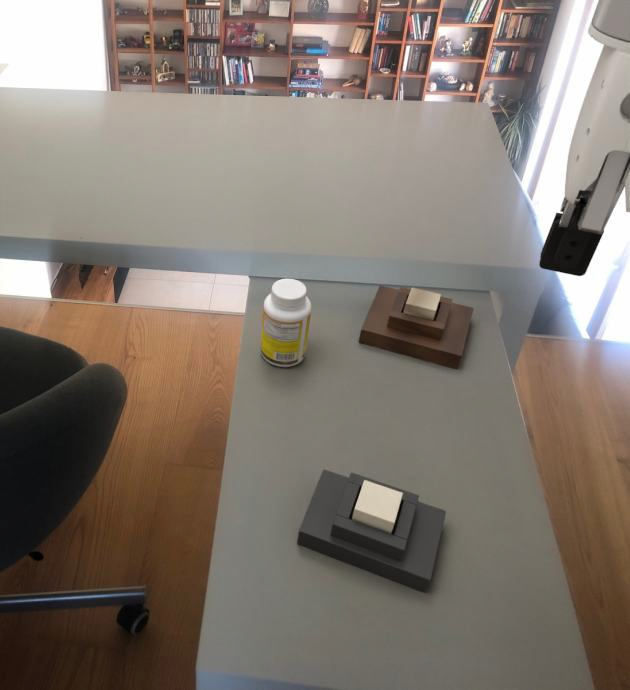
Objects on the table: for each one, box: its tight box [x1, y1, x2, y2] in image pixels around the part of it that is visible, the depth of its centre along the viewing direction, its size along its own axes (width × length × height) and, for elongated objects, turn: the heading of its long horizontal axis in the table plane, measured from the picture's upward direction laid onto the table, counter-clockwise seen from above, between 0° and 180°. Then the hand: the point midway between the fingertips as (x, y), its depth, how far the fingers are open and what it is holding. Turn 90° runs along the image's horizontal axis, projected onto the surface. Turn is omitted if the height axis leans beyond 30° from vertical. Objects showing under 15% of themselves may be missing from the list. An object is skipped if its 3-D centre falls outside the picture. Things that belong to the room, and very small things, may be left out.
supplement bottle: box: [260, 278, 312, 368], centre depth 83 cm, size 6×6×10 cm
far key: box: [404, 287, 442, 321], centre depth 86 cm, size 4×4×2 cm
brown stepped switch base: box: [358, 285, 475, 370], centre depth 87 cm, size 12×10×4 cm
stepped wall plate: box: [296, 468, 447, 593], centre depth 65 cm, size 12×8×4 cm, turn 64°
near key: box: [352, 480, 403, 534], centre depth 64 cm, size 4×4×2 cm
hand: (561, 266), depth 53 cm, fingers closed
